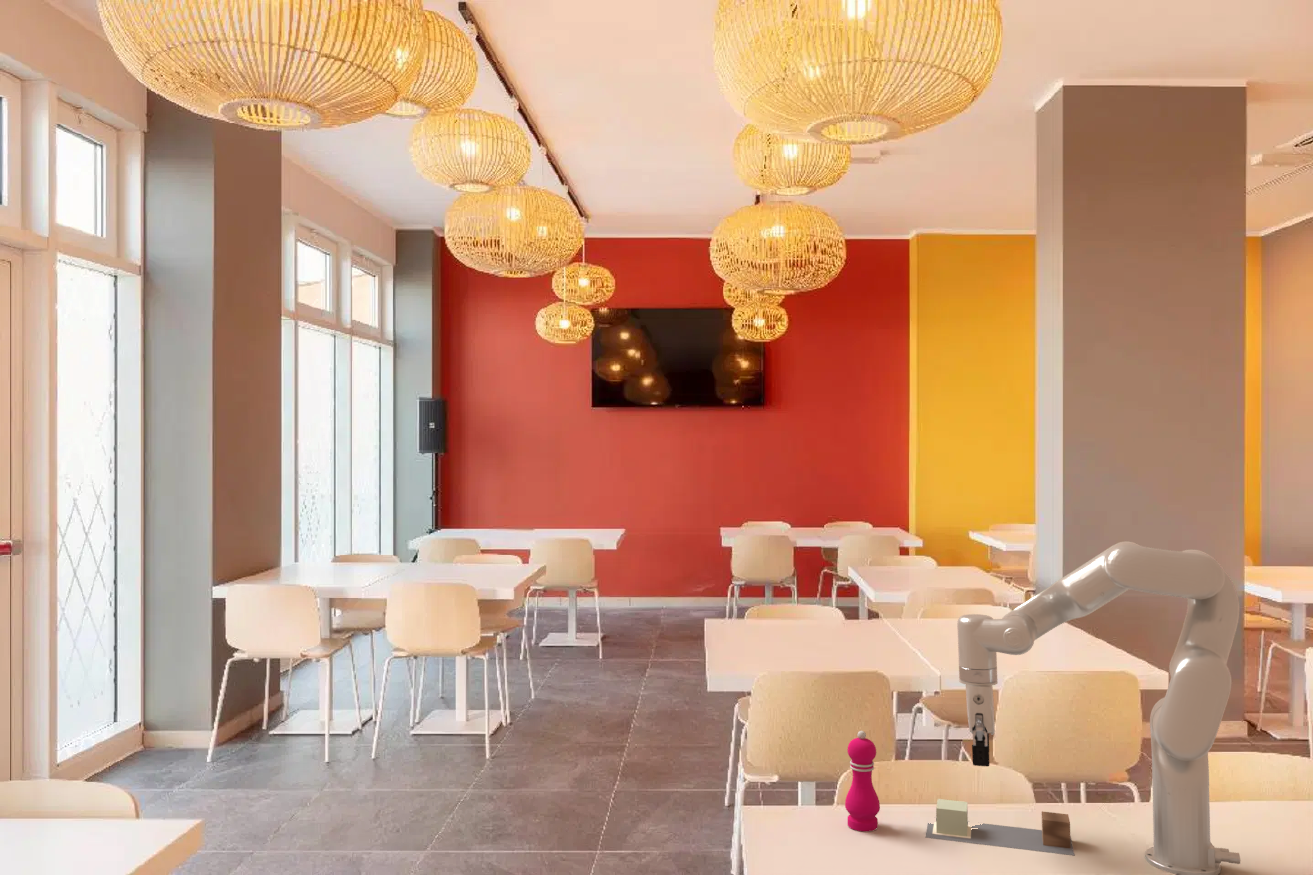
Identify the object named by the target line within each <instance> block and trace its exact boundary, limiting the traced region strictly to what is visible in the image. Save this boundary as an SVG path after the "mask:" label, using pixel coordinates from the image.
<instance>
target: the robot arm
mask: <svg viewBox="0 0 1313 875" xmlns="http://www.w3.org/2000/svg"><path fill="white" fill-rule="evenodd" d="M1129 590H1132V591H1138V592H1143V593H1149V594H1153V595H1155V594H1156V595H1162V596H1168V597H1169V596H1170V597H1176V598H1182V599H1187V600H1186V601H1187V607H1186V608H1187V609H1186V614H1185V618H1184V621H1183V625H1182V628H1181V631H1180V635H1179V637H1178V641H1177V643H1176V646H1175V648H1174V652H1173V654H1172V656H1171V659H1170V660H1169V661H1170V662H1169V664H1168V665H1169V667H1168V670H1169V676H1170V680H1169V683H1168V686H1167V689H1166V693H1165V696H1164V697H1162V698H1160V699H1159V700H1158V701H1157V702H1155V704H1154V705H1153V707H1152V709H1151V712H1150V714H1149V716H1150V717H1149V728H1150V730H1149V731H1150V744H1151V746H1150V747H1151V769H1152V770H1151V775H1152V776H1151V777H1152V778H1151V779H1152V781H1151V782H1152V786H1151V788H1152V817H1153V818H1152V822H1153V823H1152V825H1153V827H1152V828H1153V829H1152V830H1153V846H1152V847H1149V848H1147V849H1146V850H1145V852H1144V858H1145V860H1146V862H1147V863H1148V864H1150V865H1151V866H1153V867H1155V868H1157V869H1158V870H1162V871H1164V872H1167V873H1171V874H1175V875H1219V874H1220V873H1221V870H1222V869H1221V863H1222V862H1224V863H1229V864H1236V865H1240V864H1241V856H1240V853H1239V852H1234V851H1230V850H1229V848H1226V847H1225V848H1224V847H1215V845H1213V844H1212V842H1211V820H1210V819H1211V813H1210V812H1211V810H1210V808H1211V807H1210V769H1209V768H1210V766H1209V765H1210V764H1209V752H1210V750H1211V749H1212V747H1213V745H1214V743H1215V740H1216V738H1217V734H1218V731H1219V729H1220V725H1221V723H1222V720H1223V716H1224V713H1225V711H1226V708H1227V705H1228V701H1229V698H1230V695H1231V690H1232V682H1233V681H1232V675H1231V674H1232V673H1231V672H1230V668H1229V667H1228V665H1227V664H1228V660H1229V655H1230V653H1231V650H1232V646H1233V642H1234V639H1235V636H1236V632H1237V628H1238V624H1239V619H1240V600H1239V597H1238V593H1237V590H1236V587H1235V585H1234V582H1233V580H1232V579H1231V577H1230V575H1229V574H1228V573H1227V571H1226V570H1225V569H1224V567H1222V565H1221V563H1220V562H1219V561H1217V559H1215V557H1213V556H1212V555H1210V554H1209V553H1207V552H1205V551H1202V550H1200V549H1185V550H1182V551H1181V550H1179V551H1178V550H1170V549H1163V548H1155V547H1148V546H1143V545H1140V544H1139V543H1136V542H1134V541H1128V540H1127V541H1126V540H1125V541H1120V542H1117V543H1116V544H1115V543H1114V544H1113V545H1111V546H1110V547H1108V548H1107V549H1105V550H1103V551H1102V552H1101V553H1099V554H1097V555H1096V556H1094V557H1093V558H1091V559H1090V560H1088V561H1087V562H1084V563H1083V564H1082V565H1080V566H1078V567H1077V568H1076V569H1074V570H1072V571H1071V572H1069V573H1068V574H1066V575H1064V576H1063V577H1061V578H1059V579H1058V580H1057V581H1055V582H1054V583H1052V584H1051V585H1050V586H1049V587H1047V588H1045V589H1044V590H1042V591H1041V592H1039V593H1037V594H1035V596H1032V597H1031V598H1029V599H1028V600H1027V601H1025V602H1023V603H1022V604H1020V605H1018V606H1017V607H1015V608H1014V609H1013V610H1011V611H1009V612H1008V613H1006V614H1005V615H1004V616H1003V617H1002V618H995V619H994V618H993V617H992V616H990V615H986V614H975V613H972V614H963V615H961V616H959V617H958V619H957V647H958V649H957V650H958V675H959V677H958V678H959V680H958V681H959V683H961V684H963V685H965V697H966V698H965V699H966V714H967V721H968V729H969V730H968V731H969V733H970V734H972V745H971V750H972V751H971V752H972V753H971V754H972V765H973V766H977V767H989V766H990V736H989V735H990V734H991V736H992V735H994V734H995V731H996V730H995V729H996V728H995V703H994V700H995V698H994V690H993V686H996V685H998V658H997V653H1001V654H1004V655H1005V654H1007V655H1010V656H1012V655H1013V656H1020V655H1023V654H1024V655H1025V654H1026V653H1028V652H1029V651H1030V650H1031V649H1032V648H1033V647H1034V643H1035V641H1036V640H1038V639H1039V638H1041V637H1042V636H1044V635H1045V634H1047V633H1049V632H1050V631H1052V630H1053V629H1055V628H1057V627H1059V626H1060V625H1063V624H1064V623H1066V622H1069V621H1071V620H1075V619H1080V618H1084V617H1086V616H1088V615H1091V614H1092V613H1093V612H1095V611H1096V610H1099V609H1100V608H1102V607H1103V606H1105V605H1106V604H1108V603H1109V602H1111V601H1113V600H1114V599H1116V598H1117V597H1118V598H1119V596H1120V595H1122V594H1124V593H1125V592H1127V591H1129Z"/></svg>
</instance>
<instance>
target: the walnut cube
mask: <svg viewBox="0 0 1313 875" xmlns="http://www.w3.org/2000/svg"><path fill="white" fill-rule="evenodd" d="M1041 830H1042V840H1043V845H1046V846H1054V847H1062V848H1071V846H1070V836H1071V821H1070V816H1069V814H1067V813H1059V812H1050V811H1043V810H1042V811H1041Z"/></svg>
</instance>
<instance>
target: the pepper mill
mask: <svg viewBox="0 0 1313 875" xmlns="http://www.w3.org/2000/svg"><path fill="white" fill-rule="evenodd" d="M847 754H848V757H849V758H850V761H849V764H850V765H849V769H851V771H852V781H851V785H850V787H849V789H848V791H847V793H846V797H845V800H844V808H845V810H846V811H847V813H848V814H849V815H847V826H848V827H849V829H851V830H854V831H856V830H857V832H865V833H866V832H873V830H874V831H876V830H877V829H878V828H879V827H878V826H879V824H878V823H879V822H878V821H879V820H878V817H877V815H878V813H880V811H881V810H880V809H881V806H880V800H879V796H878V794H877V792H876V790H875V787H874V784H873V778H872V776H873V775H872V774H873V771H874V769H875V766H874V765H875V762H874V759H875V758H876V756H877V747H876V745H875V743H874V742H873V741H872V740H871V739H869V738H867V734H866V732H865V731H863V730H859V731H858V733H857V737H855V738H853V739H851V740H850V741H849V743H848V746H847ZM876 828H877V829H876ZM875 829H876V830H875Z"/></svg>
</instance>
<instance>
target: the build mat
mask: <svg viewBox="0 0 1313 875" xmlns="http://www.w3.org/2000/svg"><path fill="white" fill-rule="evenodd" d="M982 823H983V822H982ZM926 826H927V827H926V831H925V838H927V839H935V840H943V841H949V842H950V841H951V842H959V843H966V844H968V843H969V844H975V845H983V846H984V845H985V846H990V847H991V846H992V847H999V848H1006V849H1007V848H1008V849H1017V850H1025V851H1030V852H1031V851H1032V852H1041V853H1048V854H1056V855H1057V854H1058V855H1064V856H1072V857H1074V856H1075V855H1076V854H1075V850H1074V845H1073V841H1072V838H1071V837H1072V836H1071V835H1070V846H1071V848H1062V847H1054V846H1046V845H1043V840H1042V829H1036V828H1027V827H1019V826H1009V825H999V824H993V823H991V824H990V823H983V824H982V825H981V824H980V825H975V826H972V827H971V825H968V830H967V836H959V835H951V834H942V833H937V830H936V822H934V824H931V823H930V824H929V823H928V822H927V825H926ZM971 828H978V829H972V830H971Z"/></svg>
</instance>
